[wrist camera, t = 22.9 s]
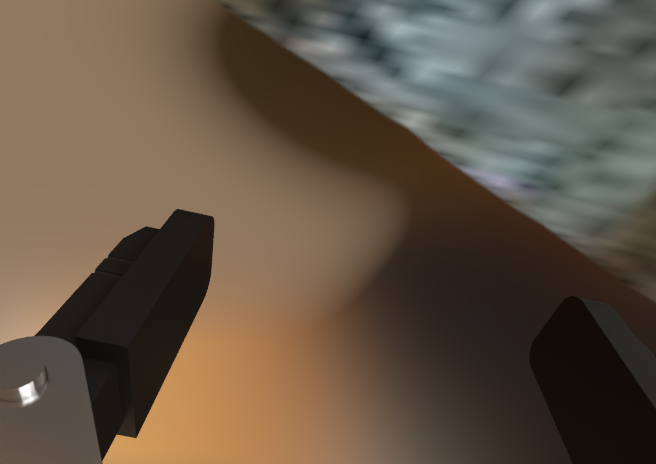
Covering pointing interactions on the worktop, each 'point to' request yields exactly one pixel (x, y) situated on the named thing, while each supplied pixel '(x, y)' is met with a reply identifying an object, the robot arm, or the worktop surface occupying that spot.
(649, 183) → the worktop surface
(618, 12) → the worktop surface
